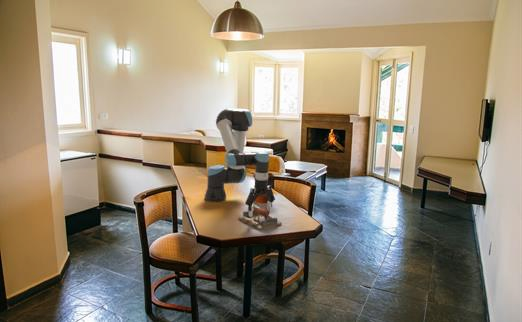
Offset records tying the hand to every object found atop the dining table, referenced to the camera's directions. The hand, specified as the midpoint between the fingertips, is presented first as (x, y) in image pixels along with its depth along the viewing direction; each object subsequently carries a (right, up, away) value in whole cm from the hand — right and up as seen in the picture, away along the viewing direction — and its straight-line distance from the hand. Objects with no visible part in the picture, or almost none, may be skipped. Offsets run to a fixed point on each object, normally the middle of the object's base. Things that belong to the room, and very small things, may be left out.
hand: (259, 214), depth 212 cm
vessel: (+2, +3, +42) cm, 42 cm away
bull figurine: (0, -3, +1) cm, 4 cm away
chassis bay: (0, -5, +1) cm, 5 cm away
